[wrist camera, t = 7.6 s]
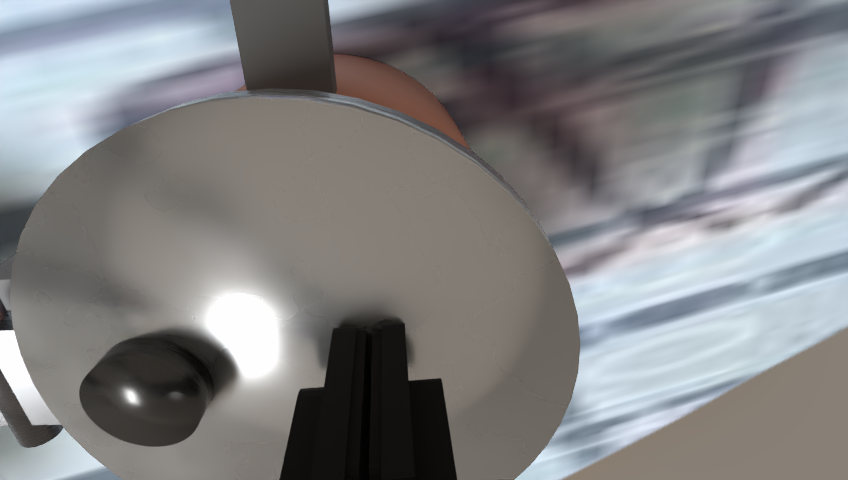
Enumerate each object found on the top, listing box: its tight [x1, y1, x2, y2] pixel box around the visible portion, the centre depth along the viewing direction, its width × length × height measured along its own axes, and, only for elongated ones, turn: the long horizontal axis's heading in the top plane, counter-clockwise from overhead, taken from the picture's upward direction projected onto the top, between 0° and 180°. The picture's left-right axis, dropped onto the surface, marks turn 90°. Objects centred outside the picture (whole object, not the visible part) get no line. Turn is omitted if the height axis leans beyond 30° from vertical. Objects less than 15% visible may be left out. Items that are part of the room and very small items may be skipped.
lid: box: [0, 88, 580, 480], centre depth 11 cm, size 13×15×2 cm
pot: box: [0, 0, 470, 310], centre depth 17 cm, size 18×14×10 cm
